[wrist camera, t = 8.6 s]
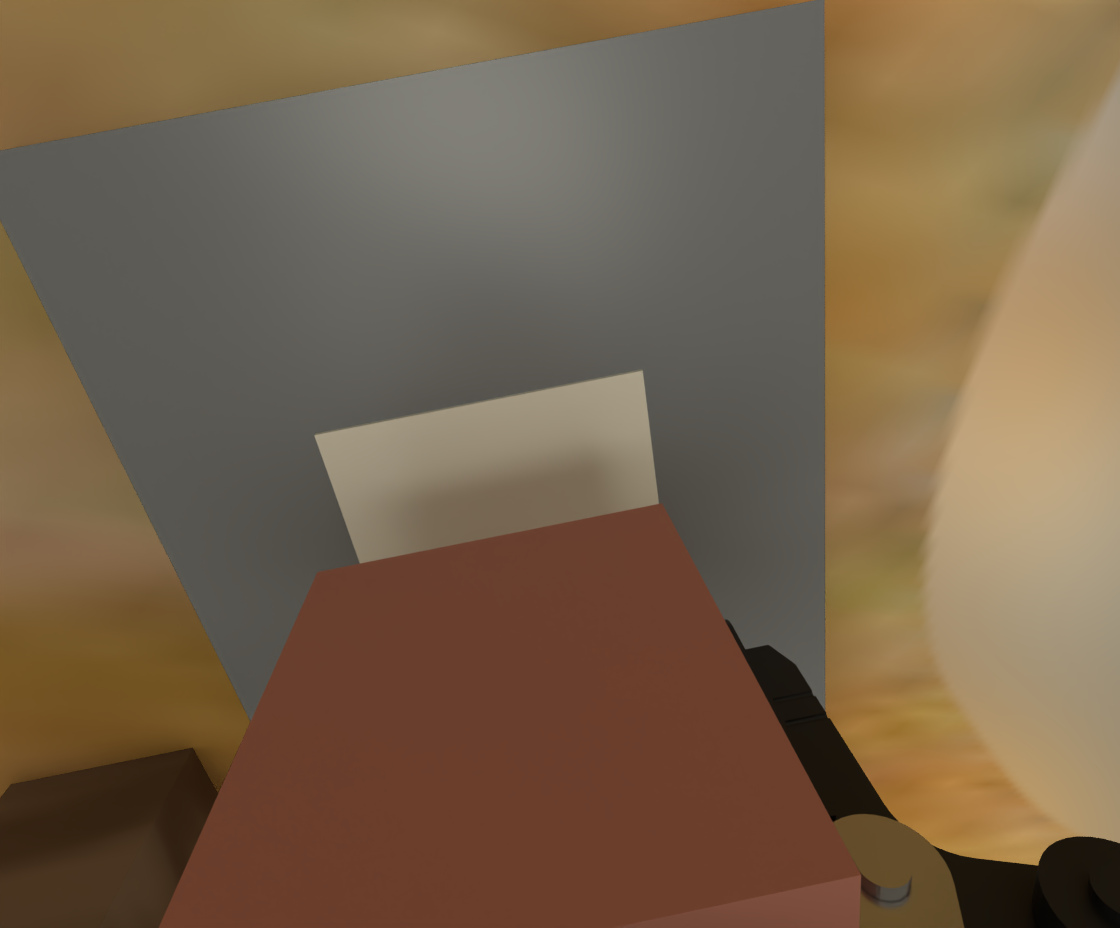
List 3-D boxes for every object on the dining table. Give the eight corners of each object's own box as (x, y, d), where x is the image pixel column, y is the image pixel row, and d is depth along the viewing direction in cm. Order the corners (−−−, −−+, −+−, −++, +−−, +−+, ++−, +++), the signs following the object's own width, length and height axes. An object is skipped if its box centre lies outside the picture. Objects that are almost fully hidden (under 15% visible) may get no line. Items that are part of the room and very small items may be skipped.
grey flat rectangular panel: (7, 158, 12) (-36, 156, 11) (799, 12, 12) (827, -3, 11) (331, 837, 20) (323, 872, 19) (809, 736, 20) (826, 765, 19)
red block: (316, 571, 10) (109, 1035, 5) (662, 503, 10) (861, 874, 5) (410, 811, 12) (345, 1314, 7) (691, 752, 12) (849, 1200, 7)
